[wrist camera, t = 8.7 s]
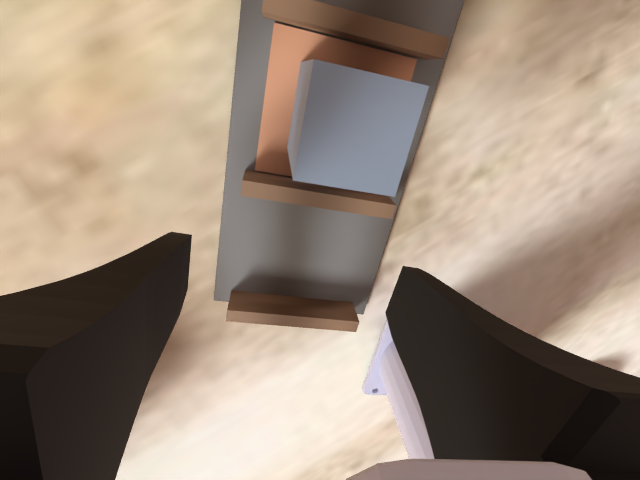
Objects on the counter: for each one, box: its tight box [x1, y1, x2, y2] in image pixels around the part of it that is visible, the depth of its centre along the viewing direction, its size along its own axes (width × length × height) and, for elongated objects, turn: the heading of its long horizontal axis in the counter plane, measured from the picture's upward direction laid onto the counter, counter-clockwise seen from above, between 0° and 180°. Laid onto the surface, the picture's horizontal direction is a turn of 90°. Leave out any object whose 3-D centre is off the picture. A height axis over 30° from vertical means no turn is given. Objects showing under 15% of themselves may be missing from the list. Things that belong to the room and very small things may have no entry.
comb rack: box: [214, 0, 464, 332], centre depth 17 cm, size 10×24×3 cm, turn 168°
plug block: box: [287, 59, 429, 197], centre depth 15 cm, size 4×4×6 cm
